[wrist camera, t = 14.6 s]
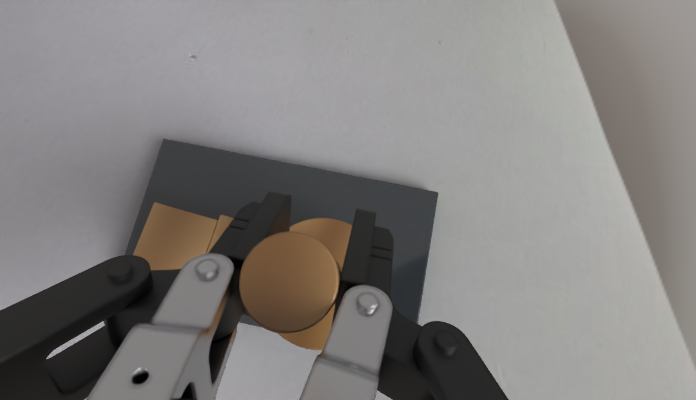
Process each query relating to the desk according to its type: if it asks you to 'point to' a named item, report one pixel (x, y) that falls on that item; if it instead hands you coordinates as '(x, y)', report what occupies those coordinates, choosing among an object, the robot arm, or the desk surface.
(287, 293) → the brush
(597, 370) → the desk surface
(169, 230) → the chip
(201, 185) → the tile
